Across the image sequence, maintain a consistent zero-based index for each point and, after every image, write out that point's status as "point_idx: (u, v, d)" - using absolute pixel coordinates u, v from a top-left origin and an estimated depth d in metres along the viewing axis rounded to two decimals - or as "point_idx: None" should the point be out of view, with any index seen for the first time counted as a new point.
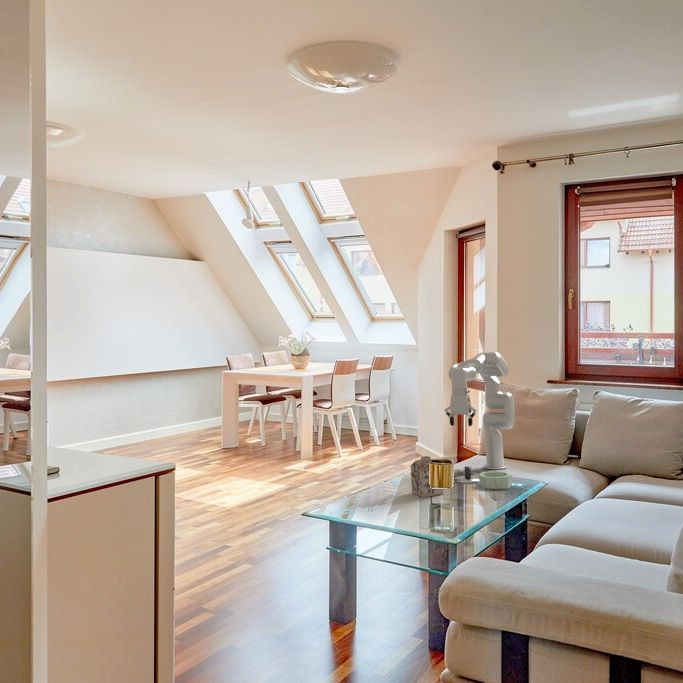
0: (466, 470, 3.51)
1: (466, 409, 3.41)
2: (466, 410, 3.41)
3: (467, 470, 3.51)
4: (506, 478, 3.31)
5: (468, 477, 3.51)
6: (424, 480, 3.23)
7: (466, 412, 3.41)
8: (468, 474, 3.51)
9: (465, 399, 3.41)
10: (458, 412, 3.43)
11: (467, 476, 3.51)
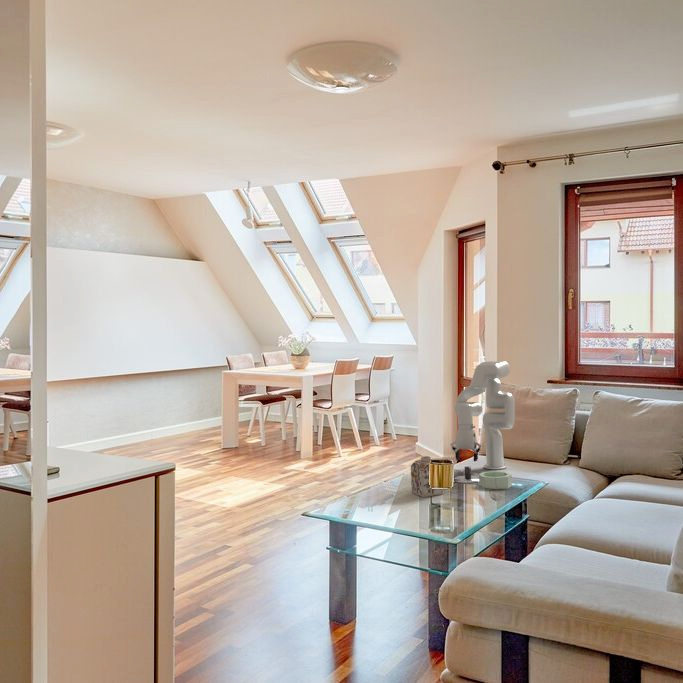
0: (466, 470, 3.51)
1: (472, 444, 3.48)
2: (472, 445, 3.48)
3: (467, 470, 3.51)
4: (506, 478, 3.31)
5: (468, 477, 3.51)
6: (424, 480, 3.23)
7: (471, 447, 3.48)
8: (468, 474, 3.51)
9: (471, 434, 3.48)
10: (464, 447, 3.50)
11: (467, 476, 3.51)
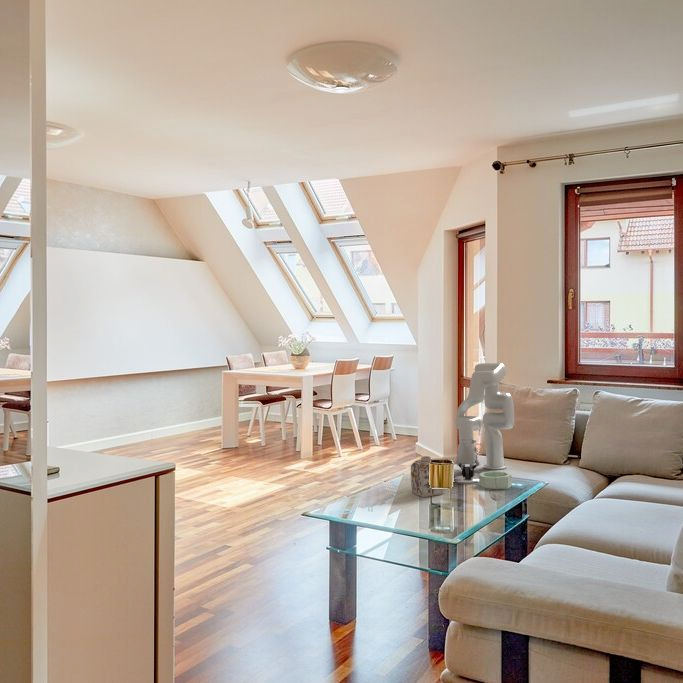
0: (466, 470, 3.51)
1: (473, 459, 3.48)
2: (473, 460, 3.48)
3: (467, 470, 3.51)
4: (506, 478, 3.31)
5: (468, 477, 3.51)
6: (424, 480, 3.23)
7: (473, 462, 3.48)
8: (468, 474, 3.51)
9: (472, 449, 3.48)
10: (465, 462, 3.50)
11: (467, 476, 3.51)
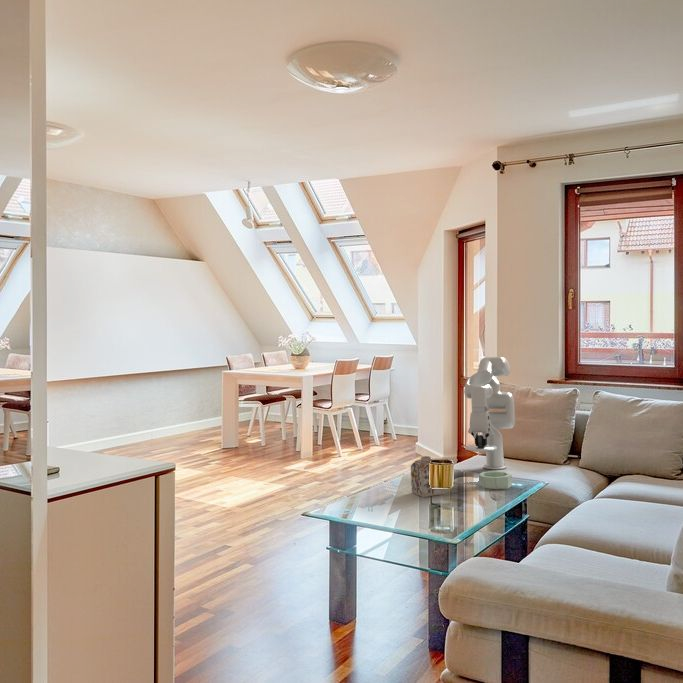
0: (479, 438, 3.43)
1: (486, 427, 3.40)
2: (486, 428, 3.40)
3: (480, 438, 3.42)
4: (506, 478, 3.31)
5: (481, 446, 3.42)
6: (424, 480, 3.23)
7: (486, 430, 3.40)
8: (481, 442, 3.42)
9: (485, 417, 3.40)
10: (478, 430, 3.42)
11: (480, 445, 3.42)
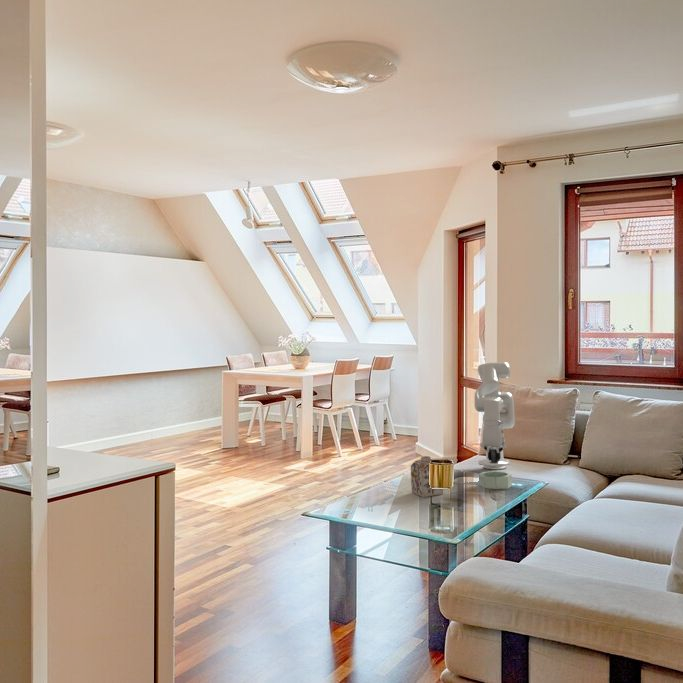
0: (492, 453, 3.36)
1: (499, 441, 3.34)
2: (499, 442, 3.34)
3: (493, 453, 3.36)
4: (506, 478, 3.31)
5: (494, 460, 3.36)
6: (424, 480, 3.23)
7: (499, 444, 3.34)
8: (494, 457, 3.36)
9: (498, 431, 3.34)
10: (491, 444, 3.36)
11: (493, 459, 3.36)
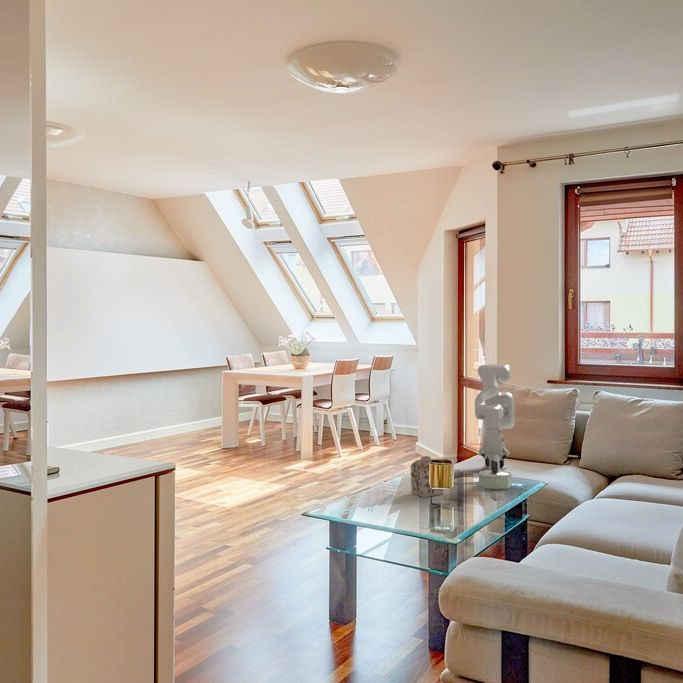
0: (493, 464, 3.37)
1: (500, 449, 3.34)
2: (500, 450, 3.34)
3: (494, 464, 3.36)
4: (506, 478, 3.31)
5: (495, 471, 3.36)
6: (424, 480, 3.23)
7: (500, 452, 3.34)
8: (495, 468, 3.36)
9: (499, 439, 3.34)
10: (491, 452, 3.36)
11: (494, 470, 3.36)
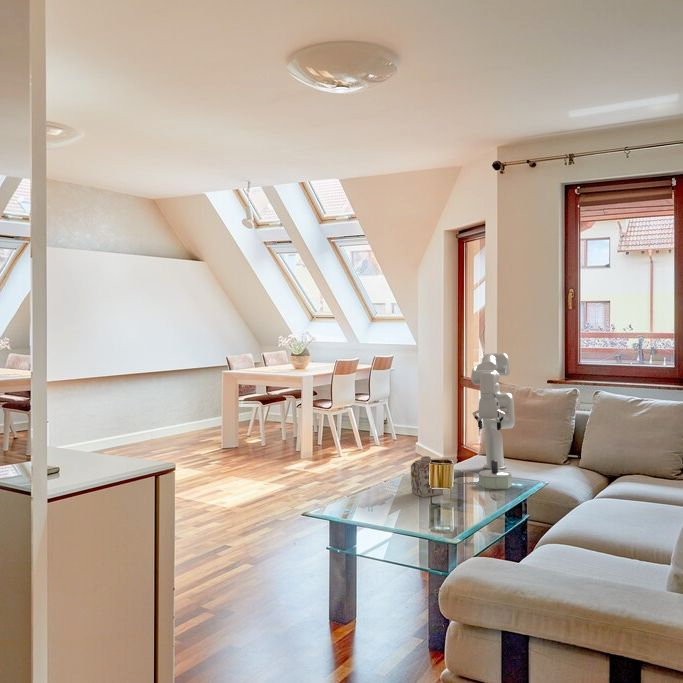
0: (493, 464, 3.37)
1: (495, 413, 3.42)
2: (495, 414, 3.42)
3: (494, 464, 3.36)
4: (506, 478, 3.31)
5: (495, 471, 3.36)
6: (424, 480, 3.23)
7: (495, 416, 3.43)
8: (495, 468, 3.36)
9: (494, 403, 3.42)
10: (487, 416, 3.45)
11: (494, 470, 3.36)
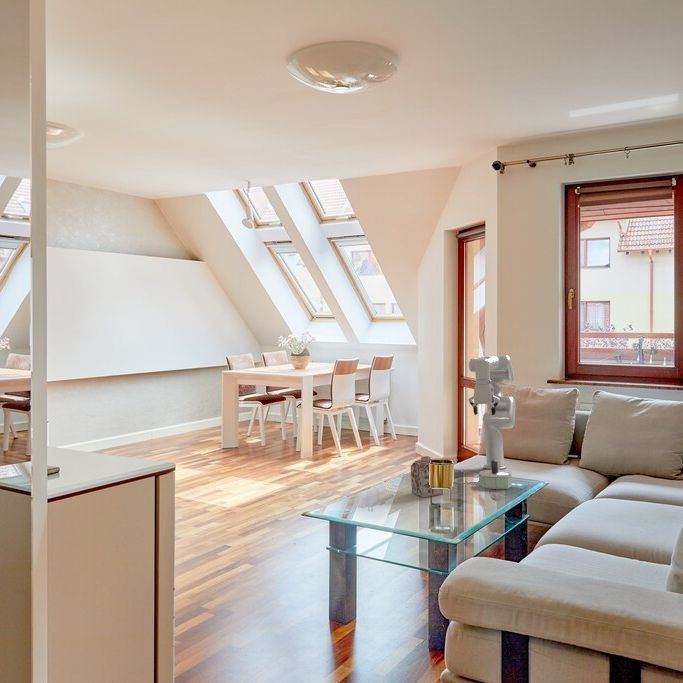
0: (493, 464, 3.37)
1: (489, 399, 3.55)
2: (489, 400, 3.55)
3: (494, 464, 3.36)
4: (506, 478, 3.31)
5: (495, 471, 3.36)
6: (424, 480, 3.23)
7: (489, 401, 3.55)
8: (495, 468, 3.36)
9: (488, 389, 3.55)
10: (482, 401, 3.57)
11: (494, 470, 3.36)
